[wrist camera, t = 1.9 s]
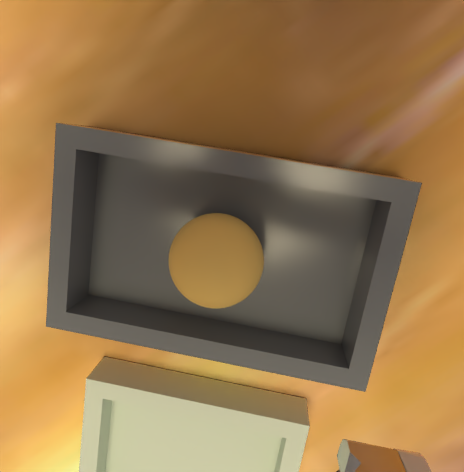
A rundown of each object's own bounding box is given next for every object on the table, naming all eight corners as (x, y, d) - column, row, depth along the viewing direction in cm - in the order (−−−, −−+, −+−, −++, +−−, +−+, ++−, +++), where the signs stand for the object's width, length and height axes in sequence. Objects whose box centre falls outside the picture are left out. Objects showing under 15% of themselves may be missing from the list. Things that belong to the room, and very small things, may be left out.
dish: (87, 126, 21) (56, 122, 18) (400, 177, 19) (421, 183, 17) (75, 303, 23) (45, 326, 20) (353, 358, 22) (365, 391, 19)
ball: (186, 199, 20) (162, 214, 16) (272, 214, 20) (270, 233, 16) (176, 280, 21) (150, 314, 17) (257, 295, 21) (252, 334, 17)
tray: (104, 356, 24) (86, 378, 21) (306, 398, 23) (309, 426, 20) (92, 493, 26) (74, 525, 24) (274, 535, 25) (274, 574, 23)
